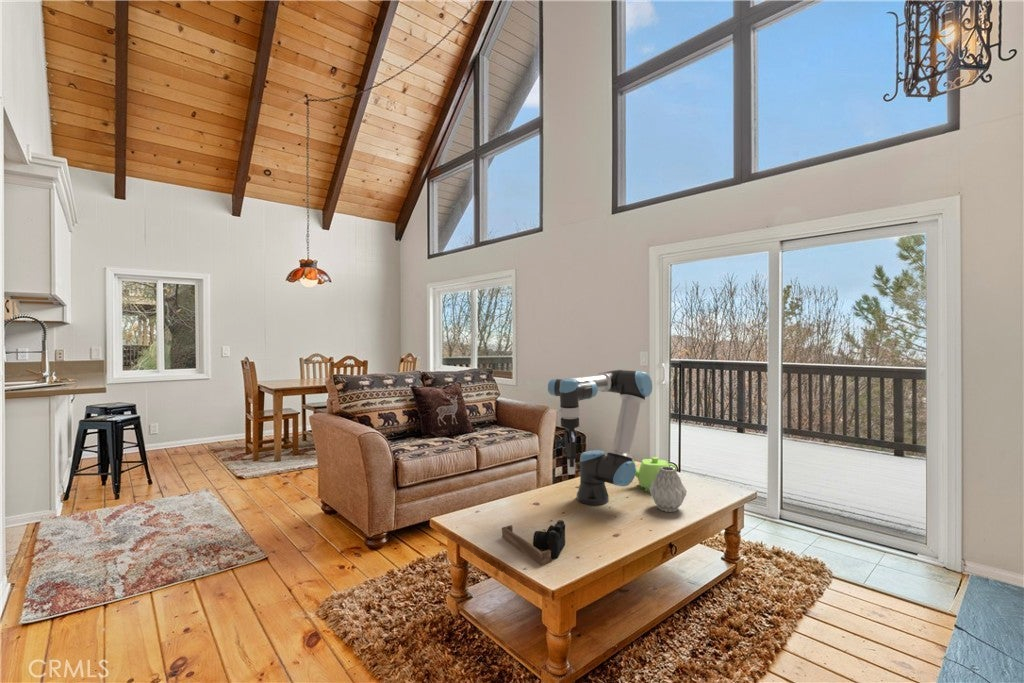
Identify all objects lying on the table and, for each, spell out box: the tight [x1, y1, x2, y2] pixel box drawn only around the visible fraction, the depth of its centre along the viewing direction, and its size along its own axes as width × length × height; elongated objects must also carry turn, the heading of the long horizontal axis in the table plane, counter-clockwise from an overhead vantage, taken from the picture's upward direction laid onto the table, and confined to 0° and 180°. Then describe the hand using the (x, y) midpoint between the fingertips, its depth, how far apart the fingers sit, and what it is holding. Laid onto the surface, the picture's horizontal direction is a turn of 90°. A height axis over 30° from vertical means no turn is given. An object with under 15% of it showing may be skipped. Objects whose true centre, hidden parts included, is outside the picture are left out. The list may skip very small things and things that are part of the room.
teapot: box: [632, 456, 678, 492], centre depth 243 cm, size 25×22×16 cm
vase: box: [649, 466, 688, 513], centre depth 212 cm, size 16×16×18 cm
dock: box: [501, 524, 552, 566], centre depth 175 cm, size 4×26×4 cm, turn 33°
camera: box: [532, 519, 566, 560], centre depth 175 cm, size 14×11×10 cm
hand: (571, 473), depth 193 cm, fingers closed
